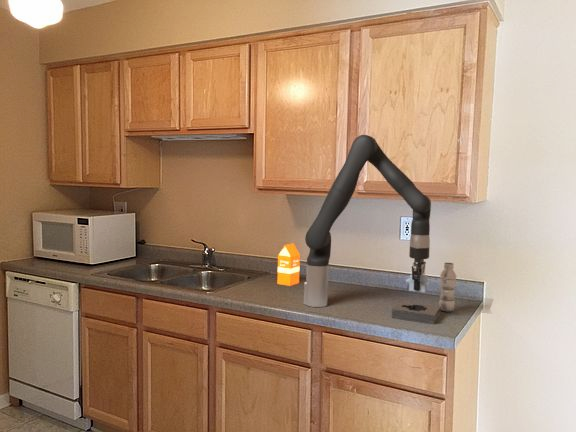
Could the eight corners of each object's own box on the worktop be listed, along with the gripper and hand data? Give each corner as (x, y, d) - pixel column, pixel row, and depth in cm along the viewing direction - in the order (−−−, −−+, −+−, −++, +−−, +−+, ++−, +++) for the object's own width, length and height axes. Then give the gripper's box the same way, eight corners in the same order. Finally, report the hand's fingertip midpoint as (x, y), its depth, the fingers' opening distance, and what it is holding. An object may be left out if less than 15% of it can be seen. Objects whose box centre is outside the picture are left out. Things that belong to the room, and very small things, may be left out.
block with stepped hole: (391, 317, 191) (392, 309, 191) (400, 309, 204) (401, 301, 203) (433, 324, 184) (434, 315, 184) (440, 315, 196) (440, 306, 196)
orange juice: (299, 282, 250) (300, 243, 248) (290, 285, 242) (291, 245, 241) (286, 280, 254) (287, 242, 252) (276, 283, 246) (277, 244, 245)
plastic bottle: (454, 309, 206) (456, 262, 204) (455, 313, 199) (457, 265, 197) (438, 308, 207) (440, 261, 206) (438, 312, 201) (441, 264, 199)
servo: (405, 290, 193) (406, 272, 193) (407, 288, 197) (408, 270, 196) (428, 292, 189) (429, 274, 189) (430, 290, 193) (431, 272, 192)
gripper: (414, 243, 200) (412, 284, 201) (405, 247, 187) (403, 291, 188) (433, 244, 196) (431, 286, 198) (425, 248, 184) (423, 294, 185)
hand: (417, 288), depth 193 cm, fingers closed on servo, 4 cm apart
